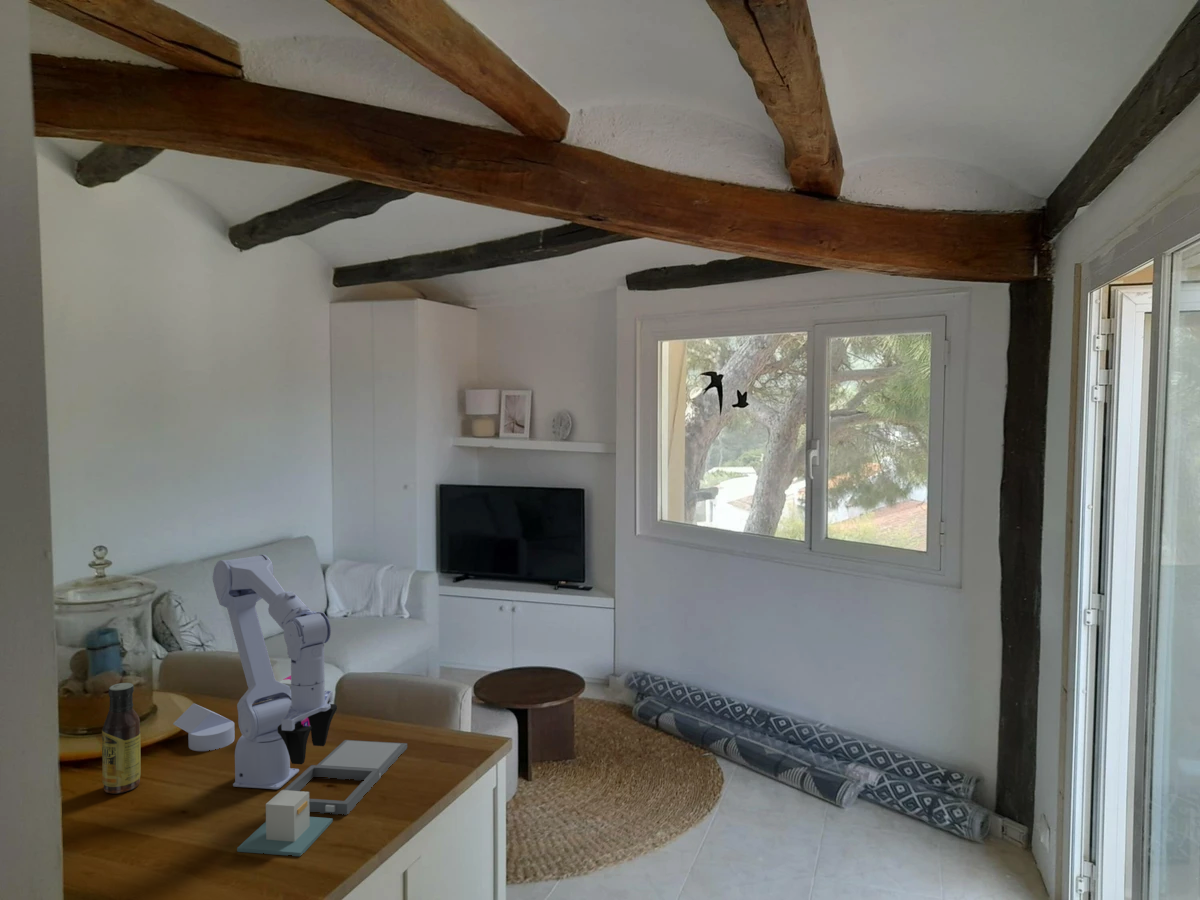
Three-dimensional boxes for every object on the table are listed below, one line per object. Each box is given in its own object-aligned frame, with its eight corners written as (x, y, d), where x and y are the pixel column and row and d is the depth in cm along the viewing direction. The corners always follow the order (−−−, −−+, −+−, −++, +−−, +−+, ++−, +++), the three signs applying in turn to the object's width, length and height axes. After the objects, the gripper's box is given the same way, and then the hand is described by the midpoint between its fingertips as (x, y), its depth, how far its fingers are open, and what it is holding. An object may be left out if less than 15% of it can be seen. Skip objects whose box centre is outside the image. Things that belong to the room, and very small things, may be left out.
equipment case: (271, 811, 141) (271, 800, 141) (345, 744, 170) (344, 735, 170) (345, 816, 139) (345, 805, 139) (407, 748, 168) (407, 738, 168)
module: (266, 839, 131) (265, 804, 131) (282, 824, 136) (281, 789, 136) (295, 841, 130) (295, 806, 130) (310, 826, 135) (310, 791, 135)
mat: (237, 851, 128) (237, 847, 128) (273, 817, 139) (273, 814, 139) (300, 856, 127) (300, 852, 127) (332, 821, 138) (332, 818, 138)
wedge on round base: (173, 739, 173) (200, 754, 165) (172, 708, 173) (199, 723, 165) (214, 726, 180) (242, 741, 172) (213, 697, 180) (241, 710, 172)
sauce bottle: (98, 788, 150) (95, 685, 149) (134, 777, 155) (132, 677, 154) (109, 799, 146) (106, 693, 145) (146, 788, 150) (143, 685, 149)
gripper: (307, 696, 136) (308, 773, 136) (347, 669, 150) (347, 739, 151) (269, 693, 137) (270, 770, 137) (312, 667, 151) (313, 736, 152)
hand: (308, 754), depth 144 cm, fingers open, 7 cm apart
